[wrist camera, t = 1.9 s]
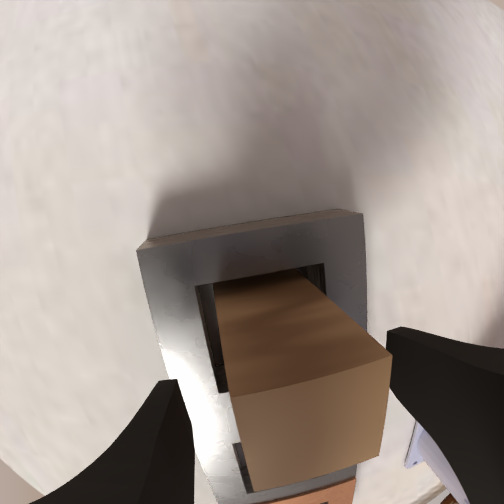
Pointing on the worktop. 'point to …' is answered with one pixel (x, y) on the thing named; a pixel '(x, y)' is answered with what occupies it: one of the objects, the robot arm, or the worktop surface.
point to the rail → (197, 340)
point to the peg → (299, 378)
